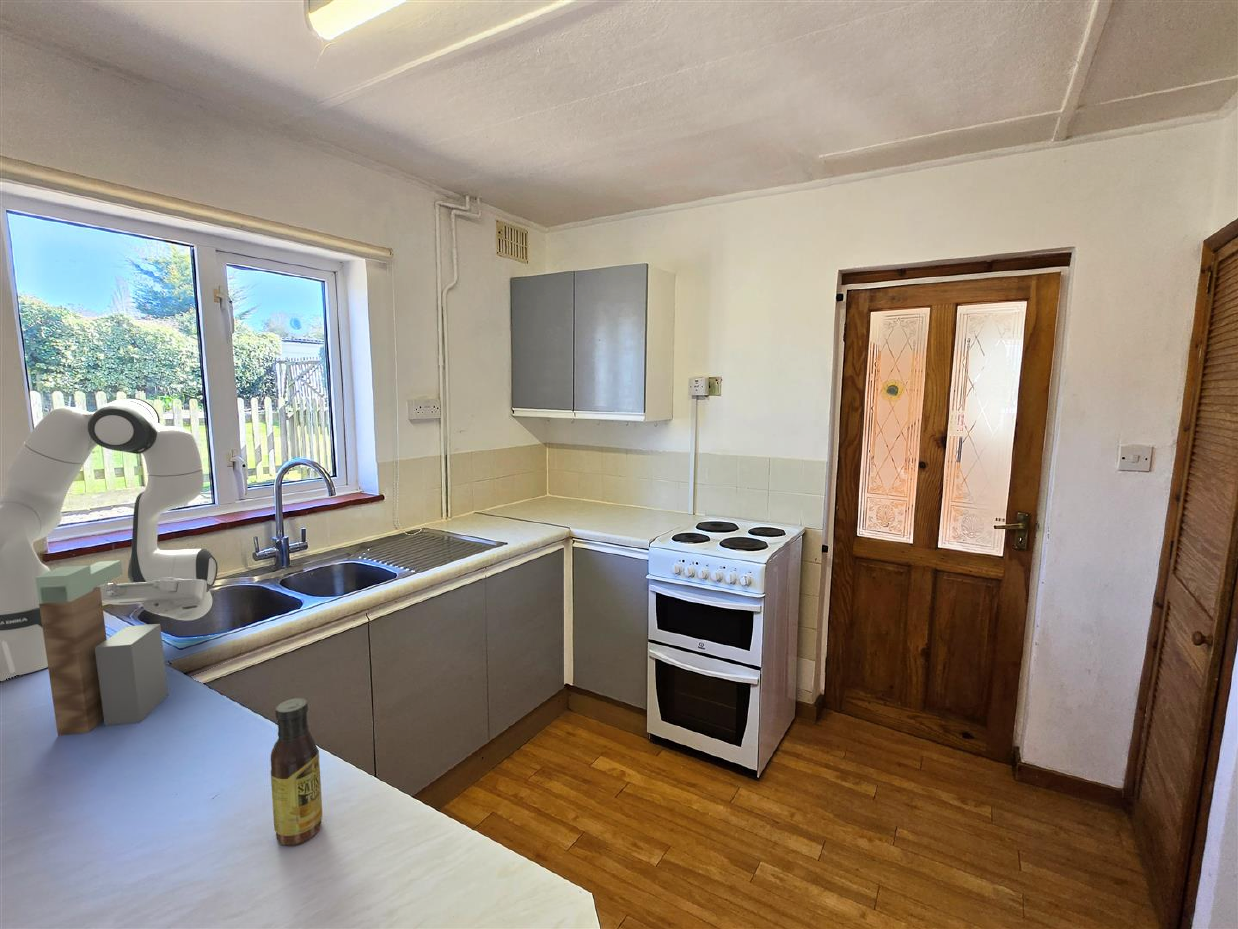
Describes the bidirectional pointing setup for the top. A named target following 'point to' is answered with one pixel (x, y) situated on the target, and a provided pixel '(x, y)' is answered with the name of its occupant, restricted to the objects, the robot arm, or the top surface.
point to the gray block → (131, 673)
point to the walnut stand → (74, 660)
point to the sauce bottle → (295, 776)
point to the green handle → (75, 581)
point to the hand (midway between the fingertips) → (132, 585)
